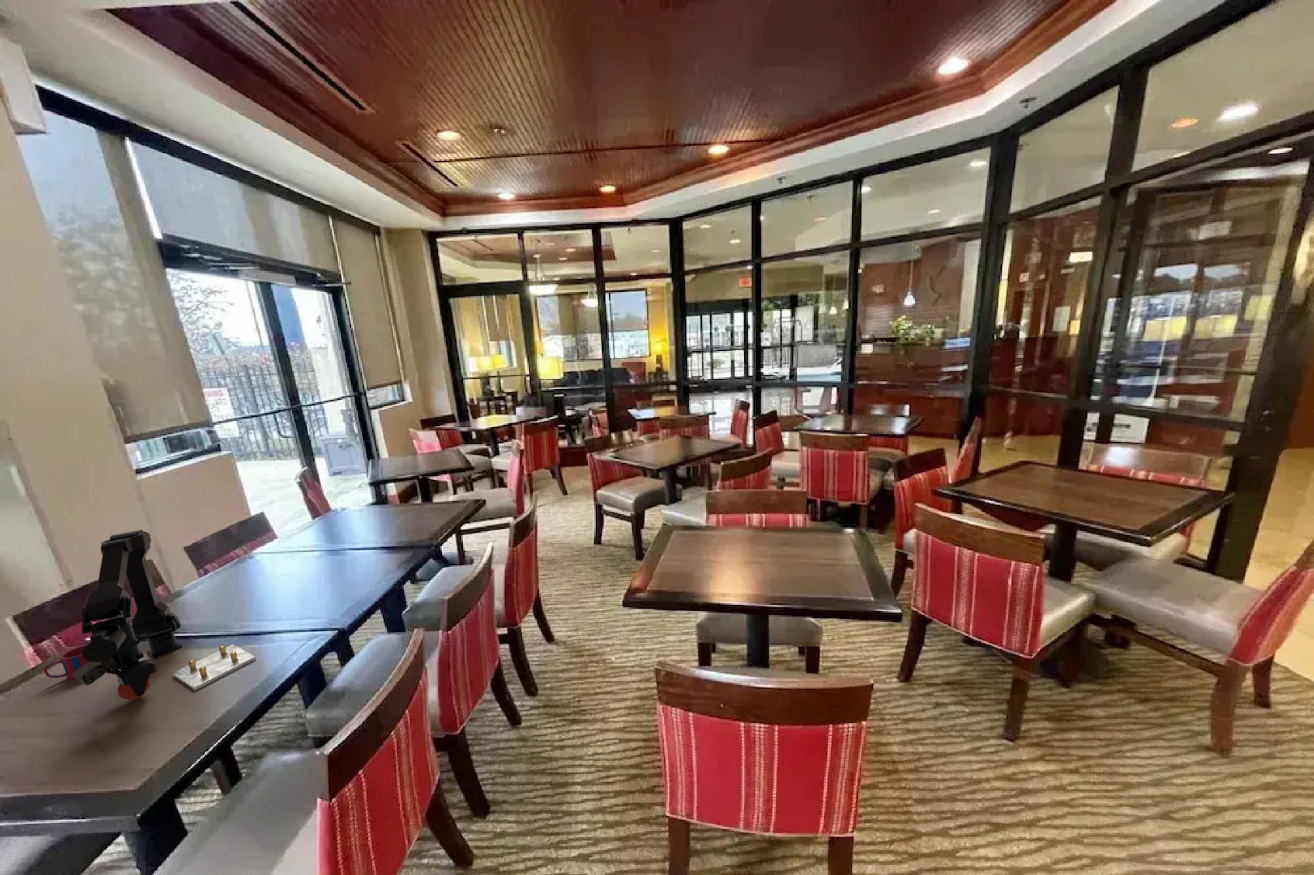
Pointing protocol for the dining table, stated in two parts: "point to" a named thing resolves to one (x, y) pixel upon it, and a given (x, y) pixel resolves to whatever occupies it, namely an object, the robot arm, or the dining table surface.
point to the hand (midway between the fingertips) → (135, 692)
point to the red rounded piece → (129, 691)
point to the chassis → (213, 666)
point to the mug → (69, 662)
